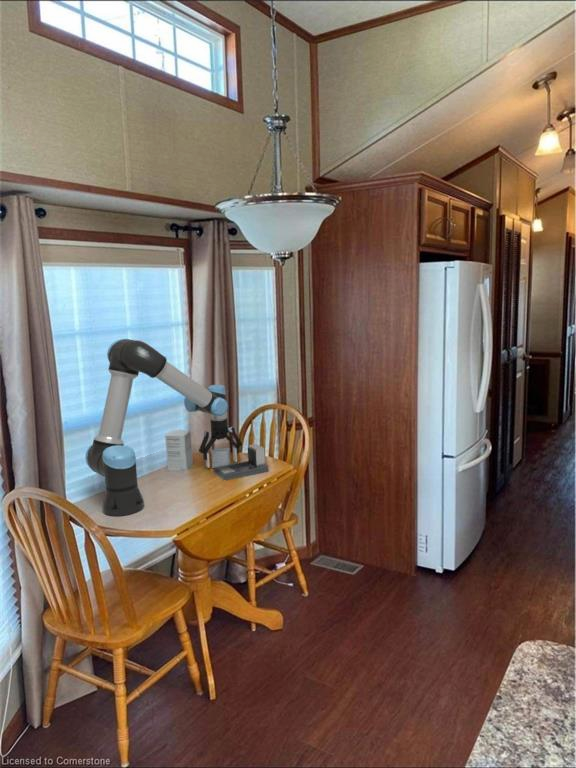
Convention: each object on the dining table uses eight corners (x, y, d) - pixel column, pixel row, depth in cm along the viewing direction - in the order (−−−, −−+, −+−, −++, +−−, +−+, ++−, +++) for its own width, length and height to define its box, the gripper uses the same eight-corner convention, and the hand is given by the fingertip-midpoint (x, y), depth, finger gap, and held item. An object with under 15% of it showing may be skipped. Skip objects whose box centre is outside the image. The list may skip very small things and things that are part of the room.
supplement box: (174, 464, 267) (171, 429, 264) (193, 464, 266) (190, 429, 263) (167, 471, 258) (164, 435, 255) (187, 471, 257) (184, 435, 254)
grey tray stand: (224, 480, 242) (222, 457, 240) (213, 473, 252) (212, 450, 251) (268, 471, 252) (267, 448, 250) (256, 464, 262) (255, 442, 260)
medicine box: (231, 466, 262) (230, 447, 260) (229, 469, 257) (228, 450, 256) (214, 466, 263) (213, 448, 261) (212, 469, 258) (211, 450, 257)
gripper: (240, 413, 265) (243, 456, 269) (189, 421, 253) (193, 466, 257) (247, 416, 259) (249, 460, 262) (195, 424, 247) (198, 471, 251)
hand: (221, 464), depth 260 cm, fingers open, 13 cm apart
